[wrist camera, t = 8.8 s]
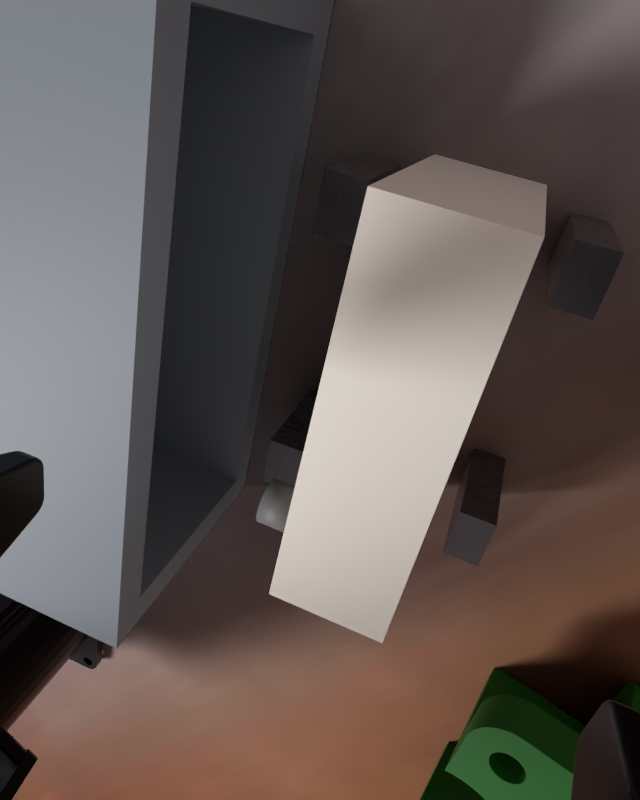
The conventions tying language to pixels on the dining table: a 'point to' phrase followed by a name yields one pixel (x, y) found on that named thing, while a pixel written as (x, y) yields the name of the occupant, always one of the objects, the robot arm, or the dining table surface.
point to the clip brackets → (566, 290)
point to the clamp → (513, 747)
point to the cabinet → (141, 275)
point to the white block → (401, 382)
